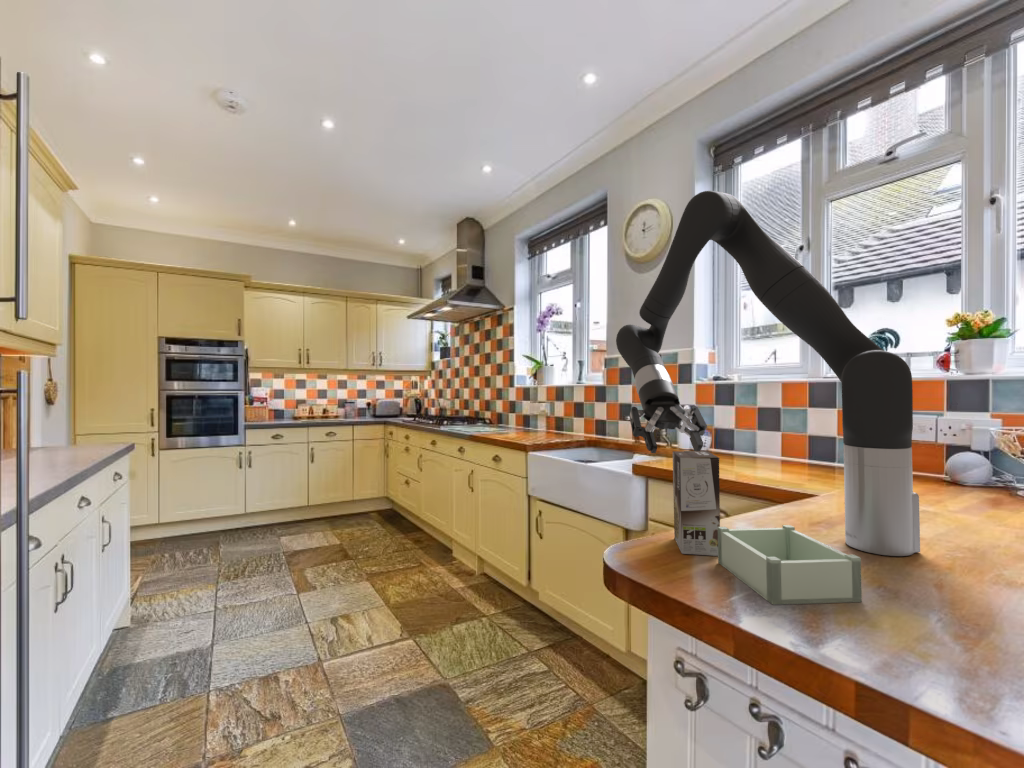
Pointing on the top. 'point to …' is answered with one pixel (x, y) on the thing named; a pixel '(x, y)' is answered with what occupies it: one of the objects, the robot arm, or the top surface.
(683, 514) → the coffee box
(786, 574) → the crate
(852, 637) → the top surface
